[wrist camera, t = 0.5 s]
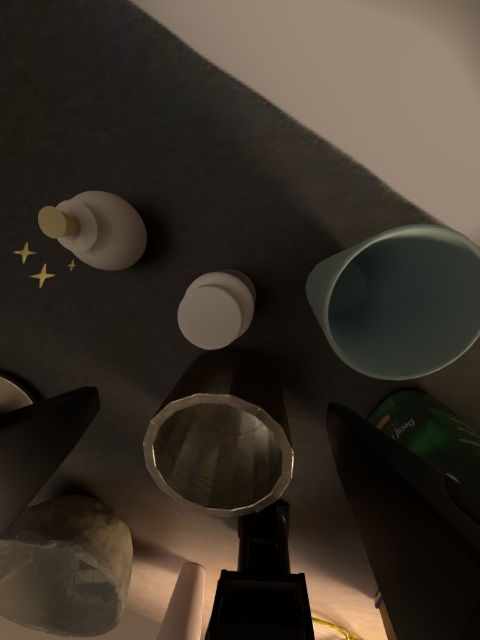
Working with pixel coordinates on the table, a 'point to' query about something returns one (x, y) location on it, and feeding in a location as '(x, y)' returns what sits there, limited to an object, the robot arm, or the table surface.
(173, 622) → the smoothie
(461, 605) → the robot arm
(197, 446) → the tin
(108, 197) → the ornament
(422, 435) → the coffee jar
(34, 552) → the bowl
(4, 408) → the lid
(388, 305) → the cup
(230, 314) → the pill bottle
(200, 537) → the table surface
